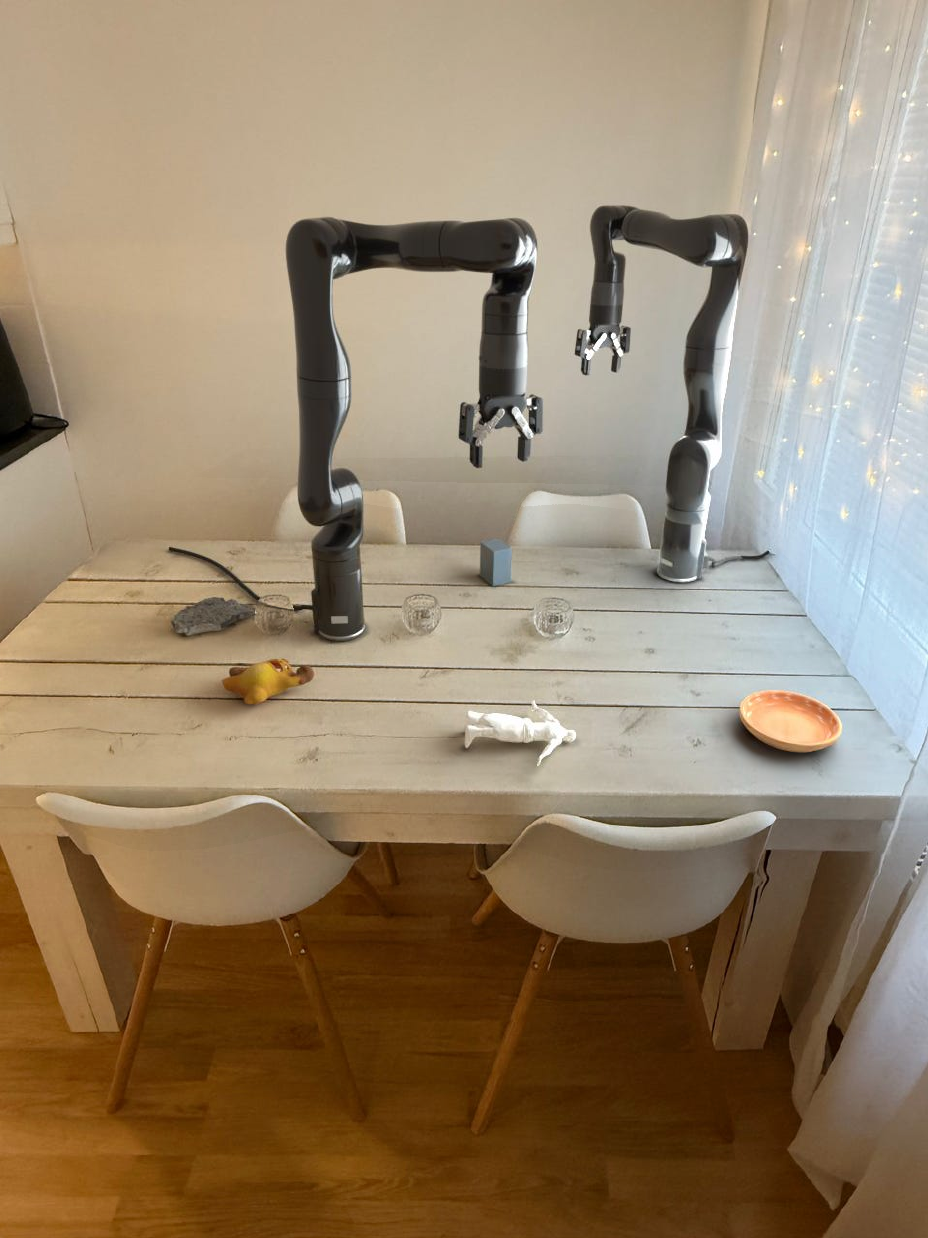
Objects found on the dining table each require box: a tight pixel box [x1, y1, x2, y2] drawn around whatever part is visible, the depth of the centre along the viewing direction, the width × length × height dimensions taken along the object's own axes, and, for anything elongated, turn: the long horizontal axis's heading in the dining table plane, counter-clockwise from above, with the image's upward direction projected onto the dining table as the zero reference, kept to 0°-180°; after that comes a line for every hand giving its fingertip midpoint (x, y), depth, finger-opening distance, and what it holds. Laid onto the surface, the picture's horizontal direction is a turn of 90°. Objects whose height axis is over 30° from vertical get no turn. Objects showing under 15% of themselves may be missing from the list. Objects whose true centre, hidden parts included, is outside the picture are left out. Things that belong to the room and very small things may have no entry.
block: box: [479, 537, 513, 587], centre depth 185 cm, size 5×6×8 cm
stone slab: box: [170, 596, 256, 637], centre depth 168 cm, size 12×17×3 cm
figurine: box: [464, 699, 577, 767], centre depth 133 cm, size 17×5×18 cm
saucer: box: [739, 689, 843, 753], centre depth 136 cm, size 16×16×3 cm
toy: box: [221, 658, 315, 705], centre depth 144 cm, size 11×6×15 cm
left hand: (500, 463), depth 134 cm, fingers open, 8 cm apart
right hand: (600, 373), depth 197 cm, fingers open, 8 cm apart
